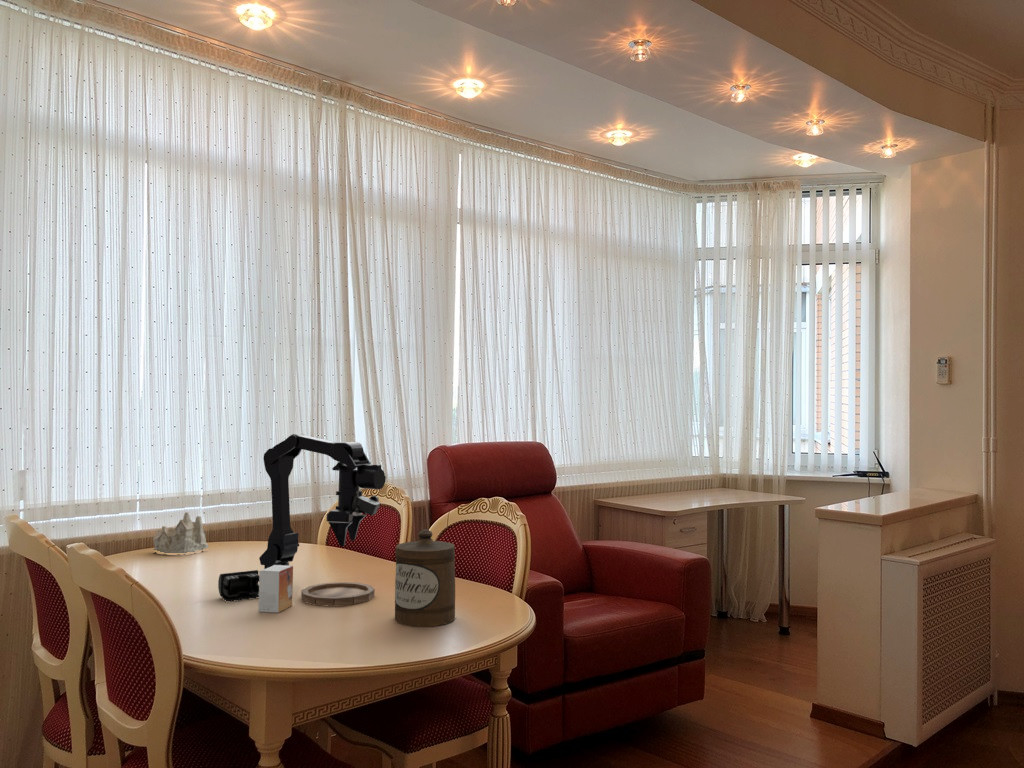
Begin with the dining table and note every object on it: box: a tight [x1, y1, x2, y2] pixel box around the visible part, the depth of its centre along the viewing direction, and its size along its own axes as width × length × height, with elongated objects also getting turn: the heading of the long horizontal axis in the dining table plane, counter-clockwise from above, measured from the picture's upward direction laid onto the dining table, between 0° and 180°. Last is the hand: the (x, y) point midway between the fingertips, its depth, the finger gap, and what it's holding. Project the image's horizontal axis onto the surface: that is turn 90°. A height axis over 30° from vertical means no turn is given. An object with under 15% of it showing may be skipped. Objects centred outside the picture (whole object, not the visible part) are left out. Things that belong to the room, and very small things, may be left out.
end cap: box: [217, 569, 259, 602], centre depth 221 cm, size 10×7×7 cm
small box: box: [258, 565, 294, 614], centre depth 209 cm, size 8×6×10 cm
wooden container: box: [394, 528, 456, 628], centre depth 201 cm, size 15×15×22 cm
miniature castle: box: [152, 511, 209, 553], centre depth 287 cm, size 16×16×15 cm
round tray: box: [300, 581, 376, 607], centre depth 222 cm, size 19×19×2 cm
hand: (347, 543), depth 227 cm, fingers open, 9 cm apart
